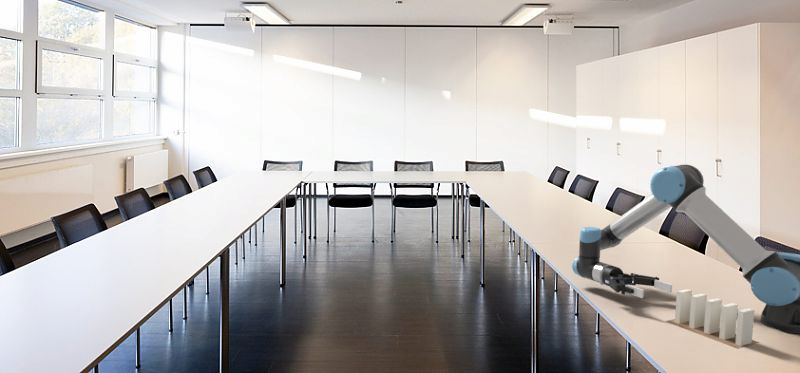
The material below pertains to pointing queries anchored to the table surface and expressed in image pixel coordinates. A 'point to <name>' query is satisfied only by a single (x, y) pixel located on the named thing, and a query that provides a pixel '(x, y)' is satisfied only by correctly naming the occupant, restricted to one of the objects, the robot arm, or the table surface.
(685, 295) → the domino
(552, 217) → the table surface
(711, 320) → the domino
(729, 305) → the domino
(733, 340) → the board
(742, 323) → the domino
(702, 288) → the table surface
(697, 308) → the domino
